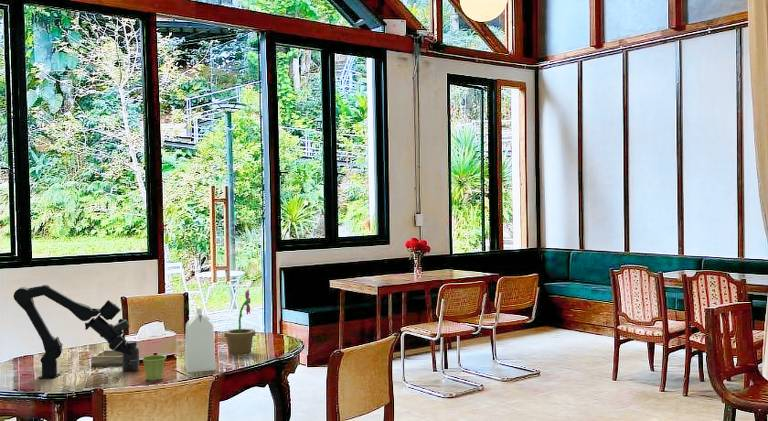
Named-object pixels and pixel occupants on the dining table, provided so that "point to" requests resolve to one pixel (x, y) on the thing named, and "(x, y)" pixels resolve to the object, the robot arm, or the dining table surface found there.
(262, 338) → the dining table surface
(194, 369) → the milk
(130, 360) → the supplement bottle
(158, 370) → the plant pot
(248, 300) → the flowerpot
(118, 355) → the box
